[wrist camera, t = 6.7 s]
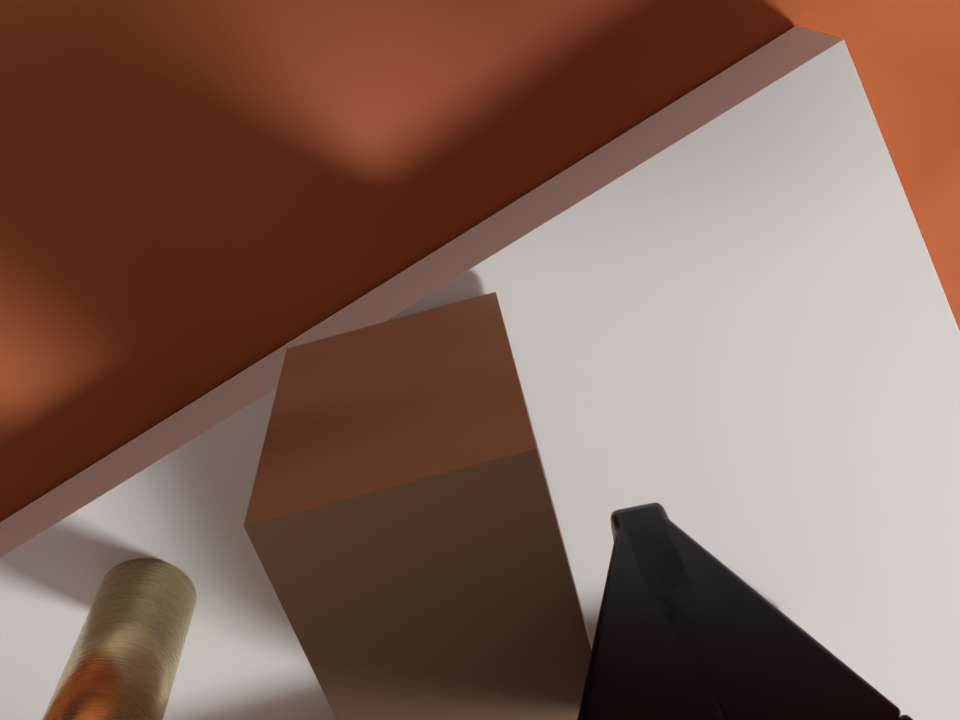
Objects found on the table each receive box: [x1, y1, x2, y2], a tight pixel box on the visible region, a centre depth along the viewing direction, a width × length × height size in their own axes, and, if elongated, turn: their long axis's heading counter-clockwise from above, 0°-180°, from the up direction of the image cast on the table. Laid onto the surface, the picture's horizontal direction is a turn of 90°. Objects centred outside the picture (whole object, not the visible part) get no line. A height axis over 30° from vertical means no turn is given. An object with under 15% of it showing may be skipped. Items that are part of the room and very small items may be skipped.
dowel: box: [42, 558, 197, 720], centre depth 10 cm, size 1×1×4 cm
